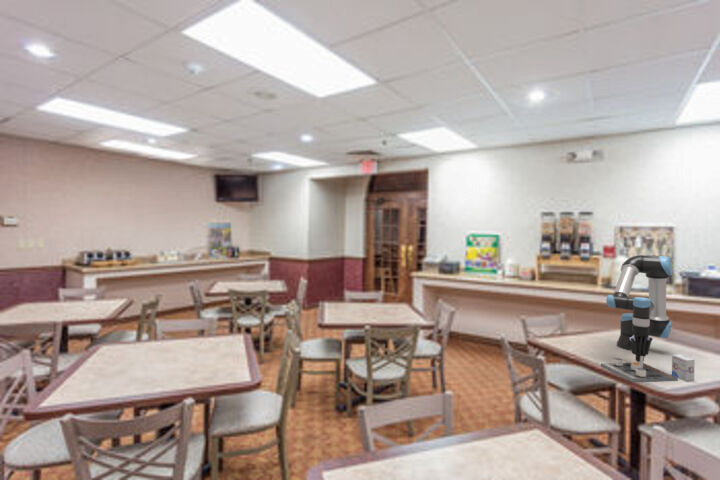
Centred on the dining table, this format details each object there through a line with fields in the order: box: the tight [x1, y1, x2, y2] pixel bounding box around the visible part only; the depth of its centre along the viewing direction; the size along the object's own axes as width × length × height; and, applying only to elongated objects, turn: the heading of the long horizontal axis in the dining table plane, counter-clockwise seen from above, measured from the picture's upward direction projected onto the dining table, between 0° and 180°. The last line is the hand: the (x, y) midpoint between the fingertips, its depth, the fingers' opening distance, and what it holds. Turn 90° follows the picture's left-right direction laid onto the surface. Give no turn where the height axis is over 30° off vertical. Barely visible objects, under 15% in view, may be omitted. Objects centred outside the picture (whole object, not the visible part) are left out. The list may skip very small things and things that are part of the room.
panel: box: [600, 362, 679, 383], centre depth 199 cm, size 26×22×2 cm
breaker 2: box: [636, 368, 646, 377], centre depth 191 cm, size 3×3×4 cm
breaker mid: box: [630, 362, 641, 371], centre depth 199 cm, size 3×3×4 cm
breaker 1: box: [613, 357, 624, 366], centre depth 206 cm, size 3×3×4 cm
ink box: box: [671, 353, 695, 382], centre depth 193 cm, size 9×5×12 cm, turn 5°
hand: (639, 366), depth 199 cm, fingers closed
